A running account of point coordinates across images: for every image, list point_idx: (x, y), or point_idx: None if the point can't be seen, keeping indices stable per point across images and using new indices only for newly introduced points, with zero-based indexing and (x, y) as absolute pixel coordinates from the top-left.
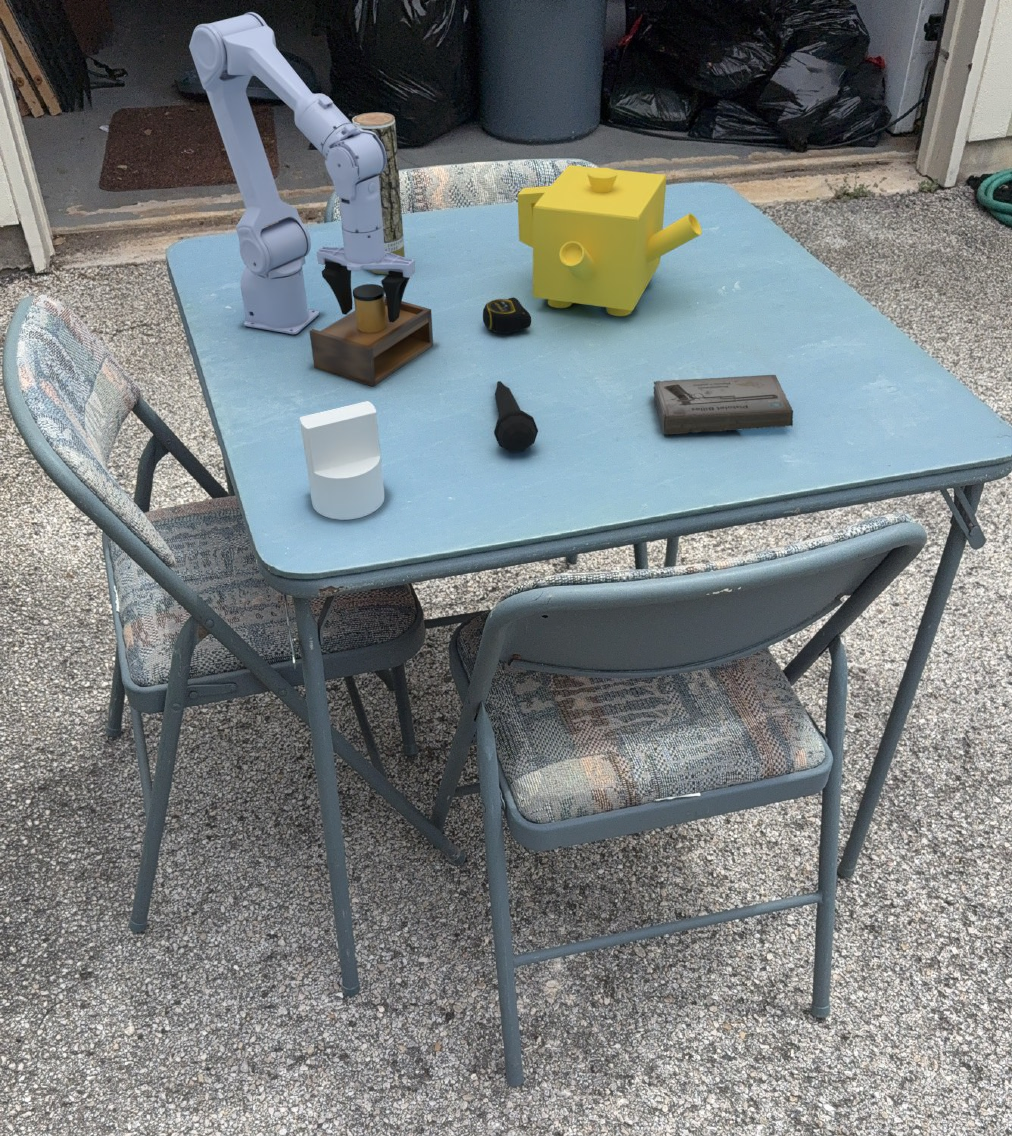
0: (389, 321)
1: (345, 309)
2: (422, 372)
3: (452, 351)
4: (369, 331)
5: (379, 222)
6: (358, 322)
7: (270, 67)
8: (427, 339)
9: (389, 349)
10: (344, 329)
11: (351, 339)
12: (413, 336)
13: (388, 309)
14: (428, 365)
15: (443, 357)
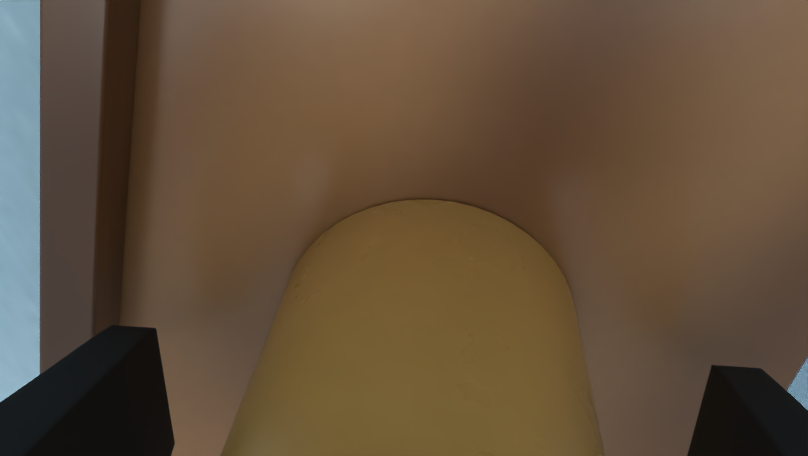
0: (150, 329)
1: (732, 408)
2: (12, 71)
3: (18, 361)
4: (382, 207)
5: None
6: (519, 272)
7: None
8: None
9: None
10: (682, 204)
11: (516, 3)
12: None
13: (44, 415)
14: (37, 173)
15: (19, 288)
